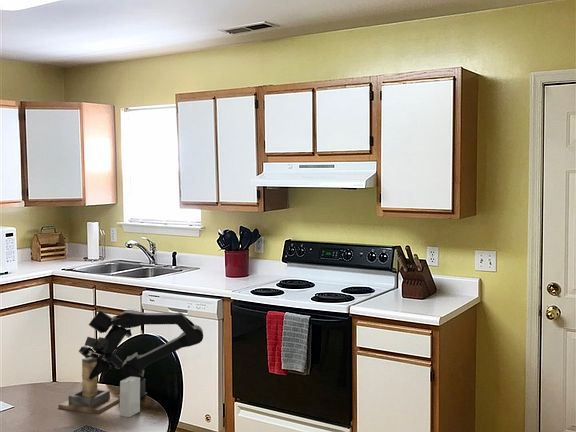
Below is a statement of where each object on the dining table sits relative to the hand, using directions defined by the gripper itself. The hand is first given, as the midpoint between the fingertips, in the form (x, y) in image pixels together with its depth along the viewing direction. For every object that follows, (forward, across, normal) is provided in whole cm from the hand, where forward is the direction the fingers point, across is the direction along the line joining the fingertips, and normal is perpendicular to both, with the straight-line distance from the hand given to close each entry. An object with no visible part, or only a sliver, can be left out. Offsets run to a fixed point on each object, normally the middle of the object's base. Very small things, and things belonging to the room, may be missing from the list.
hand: (86, 377), depth 228 cm
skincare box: (+4, +18, +11) cm, 21 cm away
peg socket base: (+6, 0, +8) cm, 10 cm away
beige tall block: (+4, 0, +6) cm, 7 cm away
